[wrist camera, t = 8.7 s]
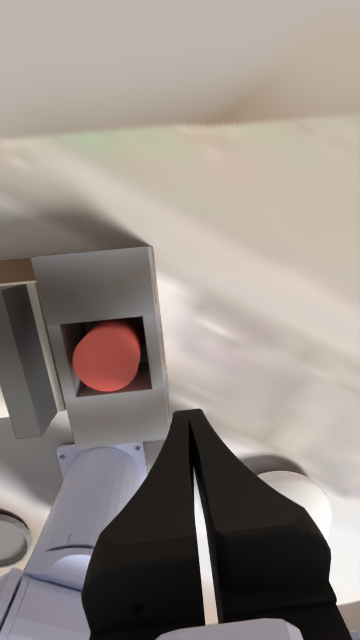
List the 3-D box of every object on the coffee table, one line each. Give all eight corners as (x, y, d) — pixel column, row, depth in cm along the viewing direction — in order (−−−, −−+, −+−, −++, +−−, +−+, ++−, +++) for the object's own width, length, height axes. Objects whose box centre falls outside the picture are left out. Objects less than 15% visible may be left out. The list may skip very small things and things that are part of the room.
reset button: (146, 359, 19) (142, 387, 15) (96, 364, 19) (79, 394, 15) (140, 311, 18) (133, 328, 14) (87, 316, 18) (66, 335, 14)
